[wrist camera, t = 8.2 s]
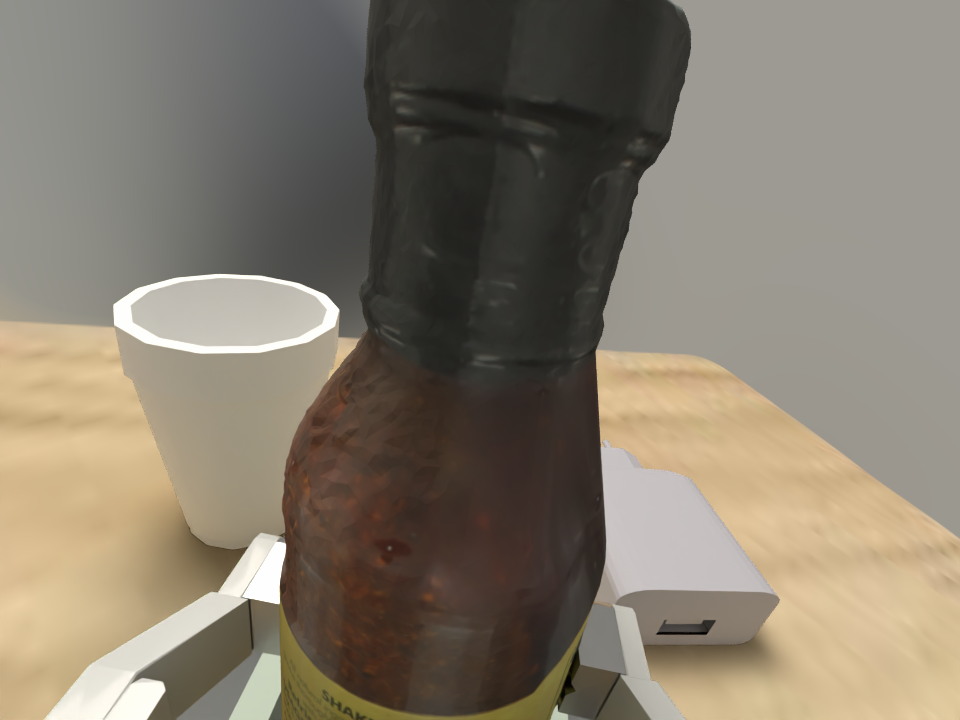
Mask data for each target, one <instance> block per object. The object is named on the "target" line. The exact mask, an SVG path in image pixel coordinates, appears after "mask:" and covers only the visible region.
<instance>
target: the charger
mask: <svg viewBox="0 0 960 720" xmlns="http://www.w3.org/2000/svg"><path fill="white" fill-rule="evenodd" d="M602 443H603V445H604V446H605V447H601V460H602V476H603V492H604V508H605V525H606V561H605V565H604V570H603V575H602V579H601V584H600V587H599V590H598V593H597V595H596V598H595V600H596V601H601V602H607V603H610V604H614V605H619V606H624V607H629V608H632V609H633V610H634V612H635V614H636V618H637V622H638V626H639V631H640V635H641V639H642V643H643V645H732V644H742V643H745V642H747V641H749V640H751V639H752V638H753V637H754V635H755V634H756V633H757V631H758V630H759V629H760V627H761V626H762V625H763V623H764V622H765V621H766V619H767V618H768V617H769V615H770V614H771V613H772V611H773V610H774V609H775V607H776V606H777V605H778V603H779V601H780V599H779V598H778V596H777V595H776V593H775V592H774V591H773V589H772V588H771V587H770V585H769V584H768V583H767V581H766V580H765V579H764V577H763V576H762V574H761V573H760V572H759V570H758V569H757V568H756V566H755V565H754V564H753V562H752V561H751V560H750V558H749V557H748V555H747V554H746V553H745V551H744V550H743V549H742V547H741V546H740V545H739V543H738V542H737V541H736V539H735V538H734V536H733V535H732V534H731V532H730V531H729V530H728V528H727V527H726V526H725V524H724V523H723V522H722V520H721V519H720V517H719V516H718V515H717V513H716V512H715V511H714V509H713V508H712V507H711V505H710V504H709V503H708V501H707V500H706V499H705V497H704V496H703V494H702V493H701V492H700V490H699V489H698V488H697V486H696V485H695V484H694V482H693V481H692V480H691V479H690V478H688V477H686V476H683V475H680V474H677V473H674V472H671V471H667V470H655V469H643V467H642V466H641V464H640V463H639V461H638V459H637V458H636V456H634V455H632V454H631V453H629V452H627V451H626V450H624V449H622V448H612V446H611V445H610V443H609V441H608V440H604V441H603V442H602ZM657 632H708V634H707V635H656V634H657Z"/></svg>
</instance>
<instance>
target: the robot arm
mask: <svg viewBox="0 0 960 720" xmlns="http://www.w3.org/2000/svg"><path fill="white" fill-rule="evenodd" d="M285 550H286V543H285V538H284V537H279V536H275V535H270V534H265V533H260V534H259V535H258V536H257V537H255V538H254V540H253V541H252V543H251V544H250V546H249V547H248V549H247V550H246V552H245V553H244V554H243V556H242V557H241V559H240V560H239V562H238V563H237V565H236V566H235V568H234V569H233V571H232V572H231V574H230V575H229V576H228V578H227V579H226V581H225V582H224V584H223V585H222V587H221V588H220V590H219V591H218V593H217V592H209V593H208V594H206V595H205V596H203V597H201V598H200V599H198V600H196V601H195V602H193V603H191V604H190V605H188V606H186V607H185V608H183V609H181V610H180V611H178V612H176V613H175V614H173V615H171V616H170V617H168V618H166V619H165V620H163V621H161V622H160V623H158V624H156V625H155V626H153V627H151V628H150V629H148V630H146V631H145V632H143V633H141V634H140V635H138V636H136V637H135V638H133V639H131V640H130V641H128V642H126V643H125V644H123V645H122V646H120V647H118V648H117V649H115V650H113V651H112V652H110V653H108V654H107V655H105V656H103V657H102V658H100V659H98V660H97V661H95V662H93V663H92V664H90V665H89V666H88V668H87V669H86V670H85V671H84V672H83V674H82V675H81V676H80V677H79V678H78V680H77V681H76V682H75V683H74V684H73V686H72V687H71V688H70V689H69V690H68V692H67V693H66V694H65V695H64V696H63V698H62V699H61V700H60V701H59V702H58V704H57V705H56V706H55V707H54V708H53V710H52V711H51V712H50V713H49V714H48V716H47V717H46V718H45V719H44V720H176V719H177V718H178V717H179V716H180V715H182V714H183V713H184V712H185V711H186V710H187V709H189V708H190V707H191V706H192V705H193V704H194V703H195V702H197V701H198V700H199V699H200V698H201V697H202V696H204V695H205V694H206V693H207V692H208V691H209V690H211V689H212V688H213V687H214V686H215V685H216V684H218V683H219V682H220V681H221V680H222V679H223V678H225V677H226V676H227V675H228V674H229V673H230V672H232V671H233V670H234V669H235V668H236V667H237V666H238V665H240V664H241V663H242V662H243V661H244V660H245V659H247V658H248V657H249V656H250V655H251V654H252V651H254V652H260V653H266V654H272V655H277V656H280V622H279V582H280V575H281V568H282V563H283V560H284V556H285ZM558 712H560V713H564V714H569V715H573V716H577V717H581V718H586V719H590V720H686V719H685V717H684V716H683V715H682V713H681V712H680V711H679V709H678V708H677V707H676V705H675V704H674V703H673V701H672V700H671V699H670V697H669V696H668V695H667V694H666V692H665V691H664V690H663V688H662V687H661V686H660V684H659V683H658V682H655V681H651V676H650V672H649V668H648V664H647V660H646V656H645V651H644V647H643V643H642V639H641V635H640V631H639V626H638V622H637V618H636V614H635V612H634V610H633V609H632V608H629V607H624V606H619V605H614V604H610V603H607V602H601V601H596V600H595V601H594V603H593V606H592V609H591V612H590V615H589V618H588V621H587V624H586V627H585V630H584V632H583V636H582V639H581V643H580V646H579V648H578V650H577V651H576V653H575V655H574V658H573V661H572V663H571V666H570V668H569V671H568V673H567V676H566V681H565V682H564V684H563V687H562V690H561V693H560V696H559V701H558Z"/></svg>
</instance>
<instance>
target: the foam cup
mask: <svg viewBox="0 0 960 720" xmlns="http://www.w3.org/2000/svg"><path fill="white" fill-rule="evenodd" d="M113 306H114V325H115V330H116V335H117V341H118V346H119V351H120V356H121V361H122V366H123V371H124V375H125V376H127V377H128V378H130V379H131V380H132V381H133V383H134V386H135V389H136V391H137V394H138V397H139V399H140V402H141V404H142V407H143V410H144V412H145V415H146V417H147V420H148V423H149V425H150V428H151V431H152V433H153V436H154V438H155V441H156V444H157V446H158V449H159V451H160V454H161V457H162V459H163V462H164V465H165V467H166V470H167V472H168V475H169V478H170V480H171V483H172V485H173V488H174V491H175V493H176V496H177V499H178V501H179V504H180V506H181V509H182V512H183V514H184V517H185V520H186V522H187V525H188V526H190V531H191V533H192V534H194V535H195V536H196V537H197V538H199V539H200V540H201V541H202V542H204V543H205V544H206V545H209V546H215V547H221V548H226V549H232V550H234V549H240V548H245V547H249V546H250V544H251V543H252V541H253V540H254V538H255V537H257V536H258V535H259V534H260V533H265V534H270V535H275V536H279V535H281V534H283V533H285V523H284V516H283V512H282V498H283V494H284V480H285V477H284V472H285V466H286V459H287V457H288V454H289V451H290V448H291V444H292V440H293V437H294V435H295V433H296V431H297V428H298V426H299V424H300V422H301V421H302V419H303V417H304V416H305V414H306V410H307V409H308V408H309V407H310V406H311V405H312V404H313V402H314V401H315V399H316V398H317V396H318V395H319V393H320V391H321V389H322V388H323V386H324V385H325V383H326V382H327V381H328V377H329V371H330V370H332V369H333V366H334V362H335V358H336V354H337V349H338V328H339V327H338V326H339V309H338V308H337V307H336V306H335V304H334V303H333V302H332V301H331V300H330V299H329V298H328V297H327V296H326V295H325V294H323V293H320V292H318V291H315V290H313V289H311V288H308V287H306V286H304V285H301V284H298V283H294V282H289V281H284V280H279V279H274V278H269V277H264V276H247V275H228V274H227V275H226V274H214V275H203V276H192V277H181V278H174V279H170V280H166V281H163V282H159V283H156V284H151V285H148V286H144V287H140V288H137V289H136V290H134V291H133V292H131V293H130V294H129V295H127V296H125V297H124V298H123V299H121V300H120V301H118V302H117V303H115V304H114V305H113Z"/></svg>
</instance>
